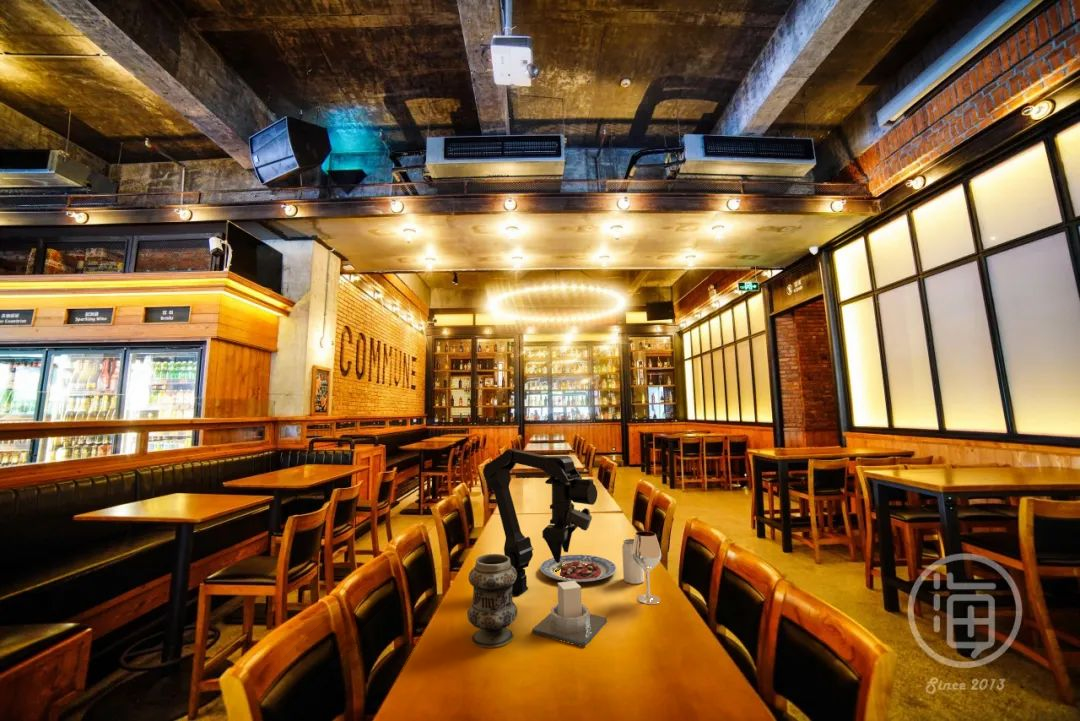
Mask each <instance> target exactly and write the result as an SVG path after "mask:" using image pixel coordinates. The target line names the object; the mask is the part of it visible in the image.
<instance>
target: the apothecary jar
mask: <svg viewBox="0 0 1080 721" xmlns="http://www.w3.org/2000/svg"><path fill="white" fill-rule="evenodd" d="M516 579H517V572H516V570H515V568H514V567H513V566H512V565H511V563H510V558H509V557H508V556H505V554H500V553H489V554H484V555H481V556H478V557H477V558H476V559H475V565H474V567H473V568H472V569H471V570H470V572H469V574H468V582H469V584H470V585H471V587H472V588H473V592H472V595H473V596H472V603H471V604H470V606H469V607H468V609H467V613H466V615H467V616H466V617H467V620H468V622H469V623H470V624H471V625H472V626H473V627H475V628H477V629H478V630H476V631H475V632H474V633H473V635H472V637H471V641H472V643H473V644H474V645H475V646H478V647H480V648H485V649H496V648H499V647H503V646H506V645H507V644H509V643H511V642H512V641H513V639H514V633H513V630H511V629H509V628H508V627H509V626H510V625H512V624H513V623H514V622H515V620H516V619H517V617H518V607H517V605H516V603H515V602H514V601H513V595H512V584H513V583H514V582H515V581H516Z"/></svg>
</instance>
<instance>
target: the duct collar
mask: <svg viewBox="0 0 1080 721" xmlns="http://www.w3.org/2000/svg"><path fill="white" fill-rule="evenodd" d="M607 621H608V618H607V617H606V616H602V615H596V614H593V613H590V608H589V607H588V606H587V605H585V604H583V603H582V616H579V617H576V618H566V617H561V616H558V603H555V604H554V605H553V606H552V607H551V608H550V613H549V614H548V615H546V616H545V617H544V618H543V619H542V620H541V621H540V622H538V624H536V625H535V626H534V627H533V628H532V630H531V634H532V635H535V636H536V635H537V636H540V637H543V638H547V637H549V638H548V639H551V638H554V639H553V640H555V639H557V640H556V641H559V640H562V641H565V642H564V643H566V642H569V643H568V644H570V643H573V644H572V645H574V644H577V645H576V646H578V645H581V646H580V647H582V646H584V647H583V648H586V647H587V646H588V645H587V644H588V643H589V644H590V642H592V640H593V639H594V638H595V636H596V635H597V634H598V633H599V631H600V630H601V629H602V628H603V627H604V626H605V625H606V623H607ZM593 637H594V638H593ZM592 638H593V639H592ZM562 641H561V642H562ZM586 645H587V646H586ZM585 646H586V647H585Z"/></svg>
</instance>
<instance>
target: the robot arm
mask: <svg viewBox="0 0 1080 721" xmlns="http://www.w3.org/2000/svg"><path fill="white" fill-rule="evenodd" d="M574 462H575V461H574V460H573V458H572V457H571V456H570V455H544V454H539V453H534V452H532V451H531V452H530V451H525V450H521V449H519V448H510V449H508V448H507V449H506V450H505V451H503V453H502V454H500V455H498V456H497V457H495V458H494V459H492V461H490V462H487V463H486V464H485V465H484V466H483V467H484V468H483V470H482V473H483V477H484V479H485V482H486V484H487V485H488V486H489V488H490V489H491V490H492V491H493V494H494V497H495V498H494V499H495V501H496V504H497V505H496V506H497V509H498V513H499V516H500V520H501V524H502V527H503V532H504V536H505V540H504V545H503V546H504V547H503V555H505V556H508V557H509V558H510V563H511V565H512V566H513V567H514V568H515V570H516V572H517V579H516V581H515V582H514V583H513V584H512V596H513V597H514V596H515V597H518V596H520V595H522V594H523V593H525V592H526V591H527V590H529V586H528V585H527V582H528V581H527V575H526V569H525V568H527V567H529V564H530V562H531V561H532V559H533V556H534V552H533V551H534V547H533V545H532V541H531V537H530V536H525V535H524V534H523V532H522V531H521V527H520V524H519V520H518V516H517V512H516V509H515V508H516V507H515V504H514V502H513V498H512V494H511V490H510V484H511V476H512V475H511V471H512V470H513V469H514V468H515V467H516V464H518V465H522V466H526V467H530V468H535V469H539V470H541V471H543V473H545V474H547V475H548V476H549V478H548V479H546V480H545V484H547V485H551V504H549V509H550V510H551V519H550V520H549V524H548V525H547V526H545V527H544V529H543V530H542V532H541V533H542V534H541V537H542V539H544V541H545V543H546V544H547V547H548V548H549V550H550V553H551V555H552V558H554V560H555V562H556V563H559V562H560V558H561V556H562V550H563V552H564V553H568V552H569V550H570V549H569V548H570V545H571V540H572V536H573V532H574V531H576V530H577V528H579V529H580V530H582V531H585V532H586V531H587V530H588V529H589V527H590V525H591V521H593V520H592V519H593V516H592V515H591V513H590V509H589V508H587V507H584V508H583V509H582V510H580V509H575V504H583V505H590V506H593V505H595V504H596V502H597V499H598V490H597V487H596V485H595V484H594V479H593V478H582V476H581V474H580V473H579V470H578V469H577V467H576V466H575V463H574ZM574 503H575V504H574Z"/></svg>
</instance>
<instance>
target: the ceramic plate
mask: <svg viewBox="0 0 1080 721" xmlns="http://www.w3.org/2000/svg"><path fill="white" fill-rule="evenodd" d="M583 563H584V564H583ZM564 564H565V565H564ZM585 564H587V565H585ZM562 565H563V566H562ZM539 568H540V571H541V573H543V575H545V576H547V577H549V578H550V579H554V580H558V581H562V582H568V581H575V582H576V583H587V582H594V581H601V580H604V579H607V578H609V577H611V576H613V575H614V574H615V573H616V572H617V565H616V564H615V563H614V562H613V561H611V560H609V559H607V558H606V557H601V556H597V555H590V554H589V555H588V554H565V555H561V558H560V562H559V563H556V562H555V560H554V557H551V558H548V559H547V560H545V561H543V562H542V563H541V564H540V566H539ZM556 568H557V569H556ZM555 569H556V570H555ZM560 569H561V572H560V576H562V577H559V576H557V575H556V574H554V570H555V572H557V571H559V570H560ZM563 577H565V578H563Z"/></svg>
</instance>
